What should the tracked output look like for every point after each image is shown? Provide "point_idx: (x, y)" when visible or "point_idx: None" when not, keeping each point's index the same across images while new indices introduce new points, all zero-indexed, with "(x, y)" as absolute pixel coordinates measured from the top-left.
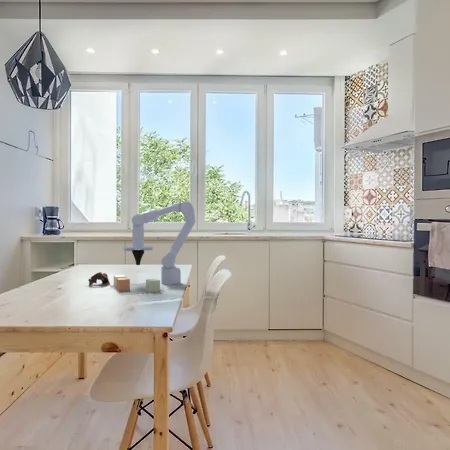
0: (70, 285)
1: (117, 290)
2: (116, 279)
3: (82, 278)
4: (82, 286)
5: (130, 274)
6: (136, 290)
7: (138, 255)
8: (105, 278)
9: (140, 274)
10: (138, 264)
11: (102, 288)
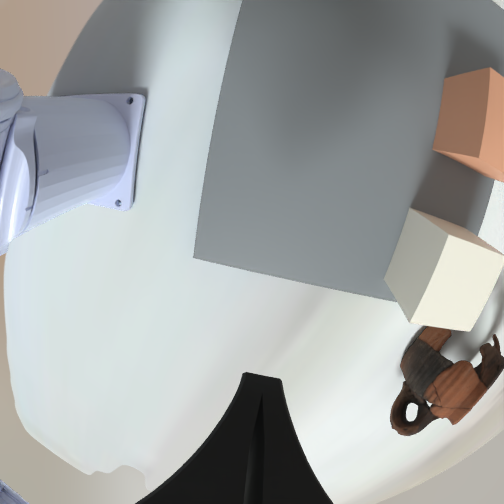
0: None
1: None
2: (492, 248)
3: (349, 483)
4: None
5: None
6: (416, 29)
7: (269, 502)
8: (422, 394)
9: (146, 453)
10: (264, 381)
11: None
